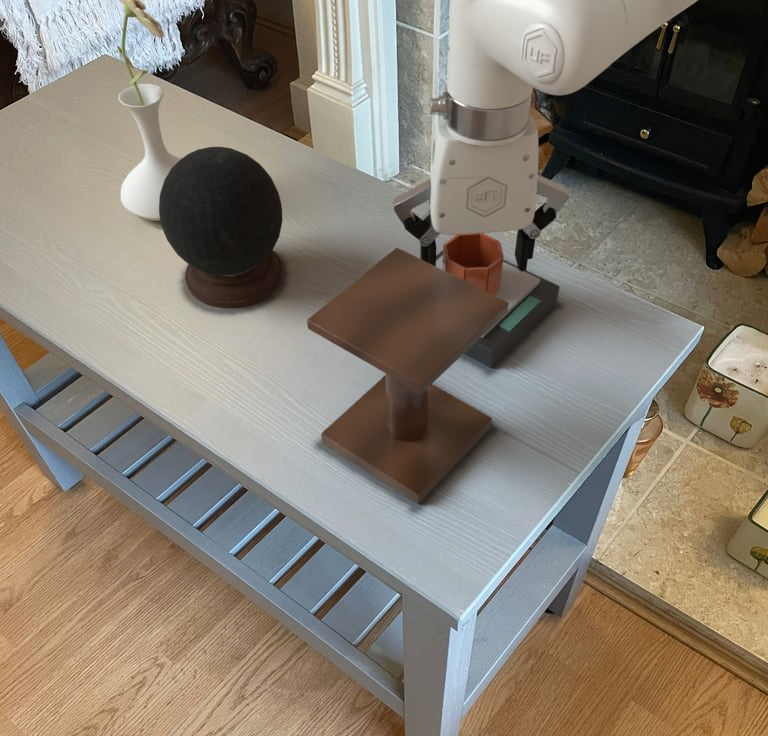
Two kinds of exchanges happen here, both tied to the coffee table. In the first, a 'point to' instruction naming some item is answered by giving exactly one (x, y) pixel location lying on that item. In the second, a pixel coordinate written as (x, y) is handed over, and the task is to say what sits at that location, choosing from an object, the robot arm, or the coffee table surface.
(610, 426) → the coffee table surface
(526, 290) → the scale
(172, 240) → the black orb ornament
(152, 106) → the flower in vase
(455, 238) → the bowl
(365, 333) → the stand
